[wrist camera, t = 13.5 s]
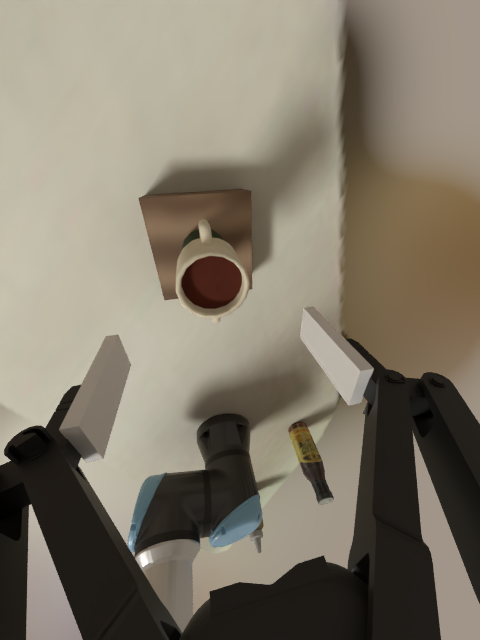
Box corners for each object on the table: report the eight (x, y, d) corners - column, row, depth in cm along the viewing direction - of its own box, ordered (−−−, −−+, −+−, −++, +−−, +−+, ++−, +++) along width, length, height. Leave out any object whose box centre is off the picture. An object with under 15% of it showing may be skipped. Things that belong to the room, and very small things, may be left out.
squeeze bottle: (256, 492, 93) (270, 552, 78) (237, 497, 92) (247, 559, 77) (257, 483, 89) (271, 545, 74) (237, 488, 88) (247, 552, 73)
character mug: (231, 282, 36) (251, 328, 25) (185, 288, 35) (185, 339, 24) (226, 206, 30) (248, 223, 19) (170, 210, 29) (161, 230, 18)
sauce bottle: (308, 420, 71) (344, 493, 55) (302, 432, 75) (335, 504, 58) (289, 422, 70) (321, 498, 53) (284, 434, 73) (312, 509, 57)
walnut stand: (245, 277, 41) (252, 289, 37) (166, 287, 39) (164, 300, 35) (242, 189, 33) (250, 191, 29) (144, 195, 31) (138, 198, 27)
